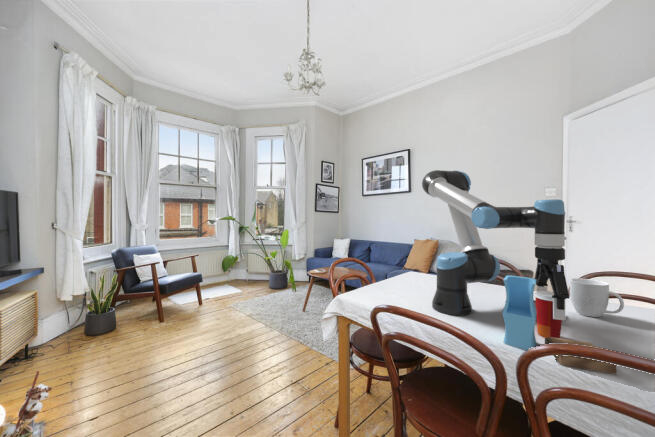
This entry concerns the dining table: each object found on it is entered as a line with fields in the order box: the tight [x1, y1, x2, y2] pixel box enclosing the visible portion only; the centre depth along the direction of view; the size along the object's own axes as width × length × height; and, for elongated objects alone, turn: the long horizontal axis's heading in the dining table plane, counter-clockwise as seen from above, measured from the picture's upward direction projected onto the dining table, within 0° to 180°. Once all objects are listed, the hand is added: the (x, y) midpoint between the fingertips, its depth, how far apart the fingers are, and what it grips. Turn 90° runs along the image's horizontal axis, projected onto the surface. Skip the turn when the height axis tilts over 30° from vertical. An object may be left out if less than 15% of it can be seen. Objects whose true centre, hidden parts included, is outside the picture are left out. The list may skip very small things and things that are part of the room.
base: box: [544, 337, 617, 375], centre depth 72 cm, size 11×11×3 cm
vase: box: [502, 274, 537, 351], centre depth 81 cm, size 8×8×20 cm
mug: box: [569, 277, 625, 318], centre depth 102 cm, size 15×11×13 cm
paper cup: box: [533, 290, 563, 339], centre depth 86 cm, size 8×8×14 cm
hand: (549, 311), depth 85 cm, fingers open, 13 cm apart
